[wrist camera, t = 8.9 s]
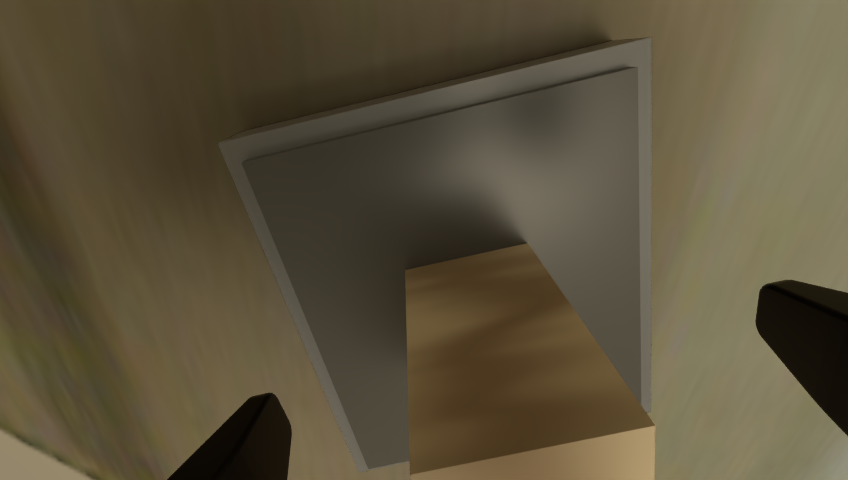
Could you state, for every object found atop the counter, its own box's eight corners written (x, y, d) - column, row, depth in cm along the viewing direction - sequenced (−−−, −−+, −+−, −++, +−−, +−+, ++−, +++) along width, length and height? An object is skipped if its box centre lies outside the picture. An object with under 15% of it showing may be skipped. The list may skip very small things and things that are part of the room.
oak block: (527, 242, 15) (655, 425, 7) (540, 342, 16) (652, 568, 9) (405, 270, 15) (410, 474, 8) (430, 365, 17) (455, 605, 9)
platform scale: (613, 40, 15) (661, 35, 12) (624, 374, 21) (657, 420, 19) (244, 130, 15) (210, 146, 13) (363, 429, 22) (358, 482, 19)
